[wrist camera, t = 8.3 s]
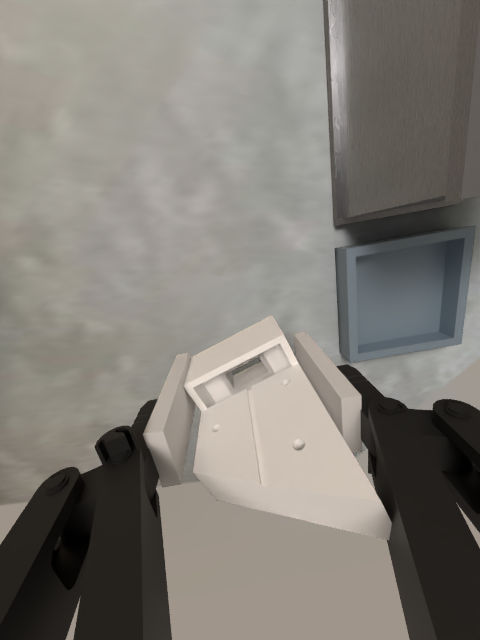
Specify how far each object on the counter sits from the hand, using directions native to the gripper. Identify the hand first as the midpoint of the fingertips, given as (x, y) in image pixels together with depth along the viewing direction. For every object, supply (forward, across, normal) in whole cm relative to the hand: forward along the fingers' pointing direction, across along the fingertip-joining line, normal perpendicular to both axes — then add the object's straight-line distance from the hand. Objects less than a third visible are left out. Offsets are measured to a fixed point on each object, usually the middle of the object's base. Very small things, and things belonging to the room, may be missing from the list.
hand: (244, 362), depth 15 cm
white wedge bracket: (+1, 0, 0) cm, 1 cm away
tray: (+9, +16, 0) cm, 18 cm away
